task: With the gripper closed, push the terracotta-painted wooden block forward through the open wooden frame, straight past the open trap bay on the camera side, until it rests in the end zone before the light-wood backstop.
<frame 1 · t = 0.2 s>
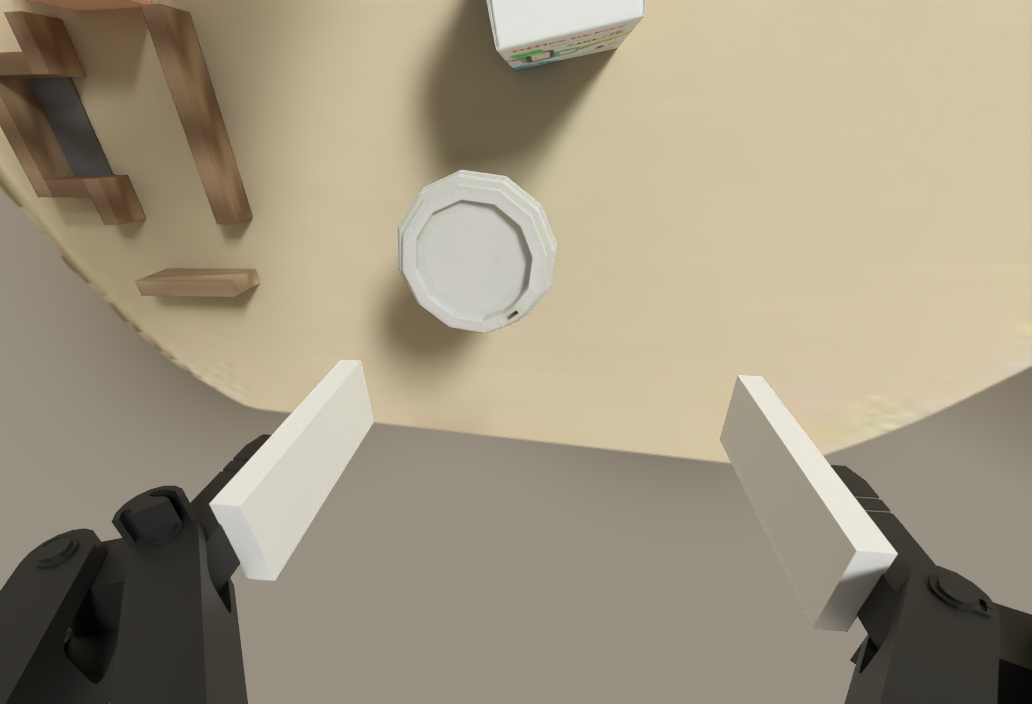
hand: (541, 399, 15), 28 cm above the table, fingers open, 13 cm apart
disposable coffee cup: (500, 216, 40), on the table
open wooden frame: (157, 127, 39), on the table
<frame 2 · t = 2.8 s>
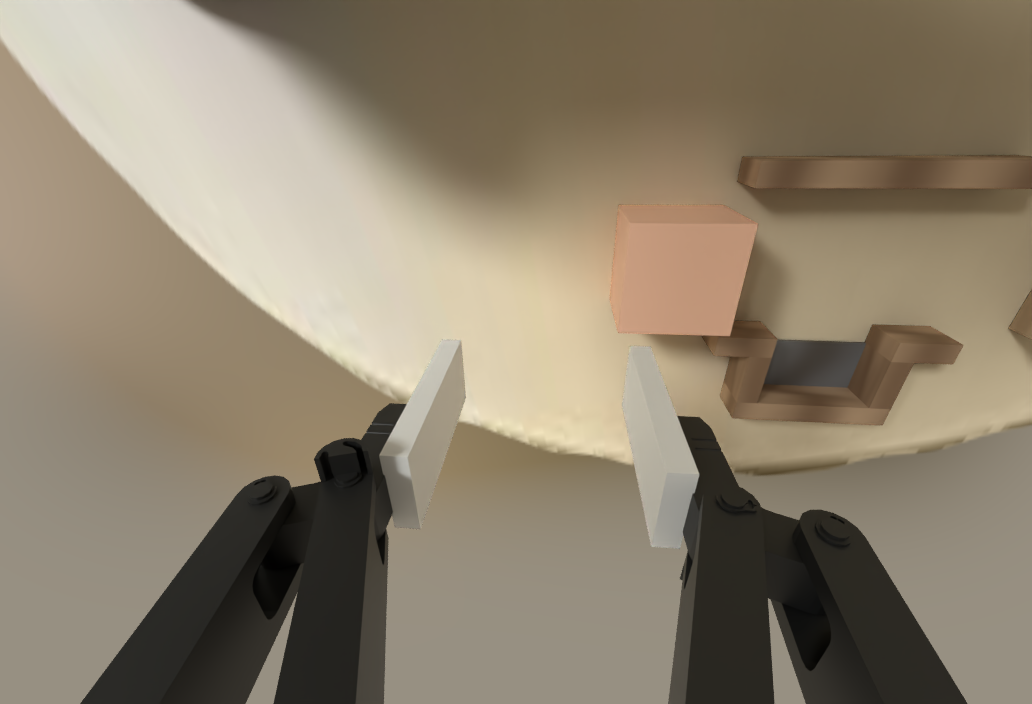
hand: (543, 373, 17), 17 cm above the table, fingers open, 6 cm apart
block: (662, 254, 31), on the table
open wooden frame: (839, 258, 30), on the table
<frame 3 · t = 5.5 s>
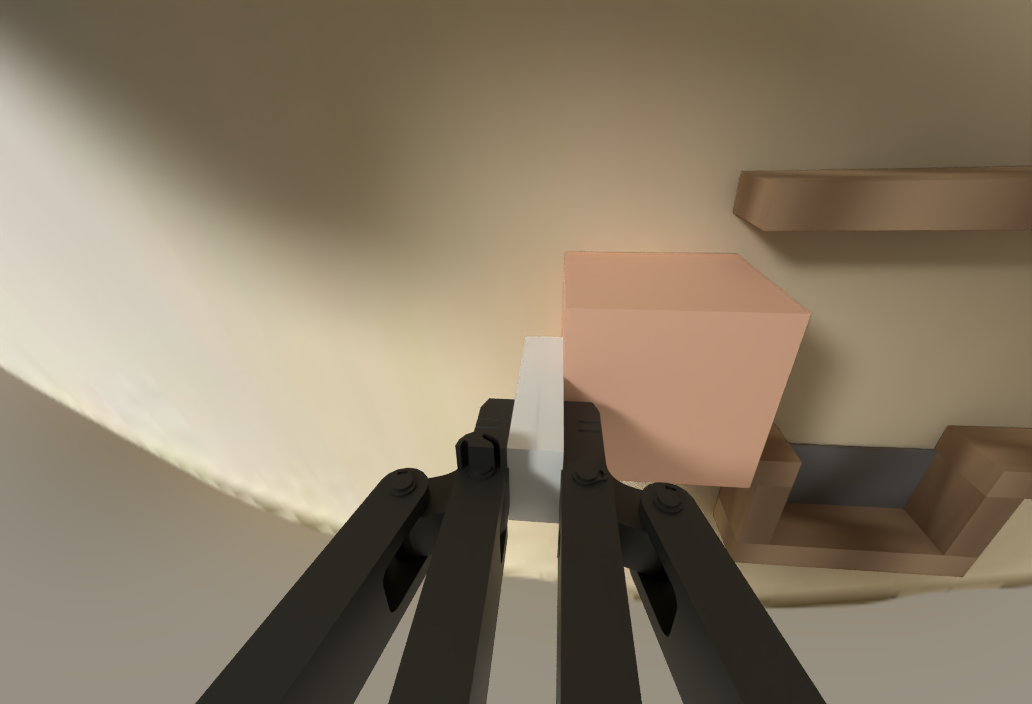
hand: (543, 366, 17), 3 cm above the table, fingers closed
block: (638, 328, 19), on the table, touching gripper
open wooden frame: (900, 330, 18), on the table
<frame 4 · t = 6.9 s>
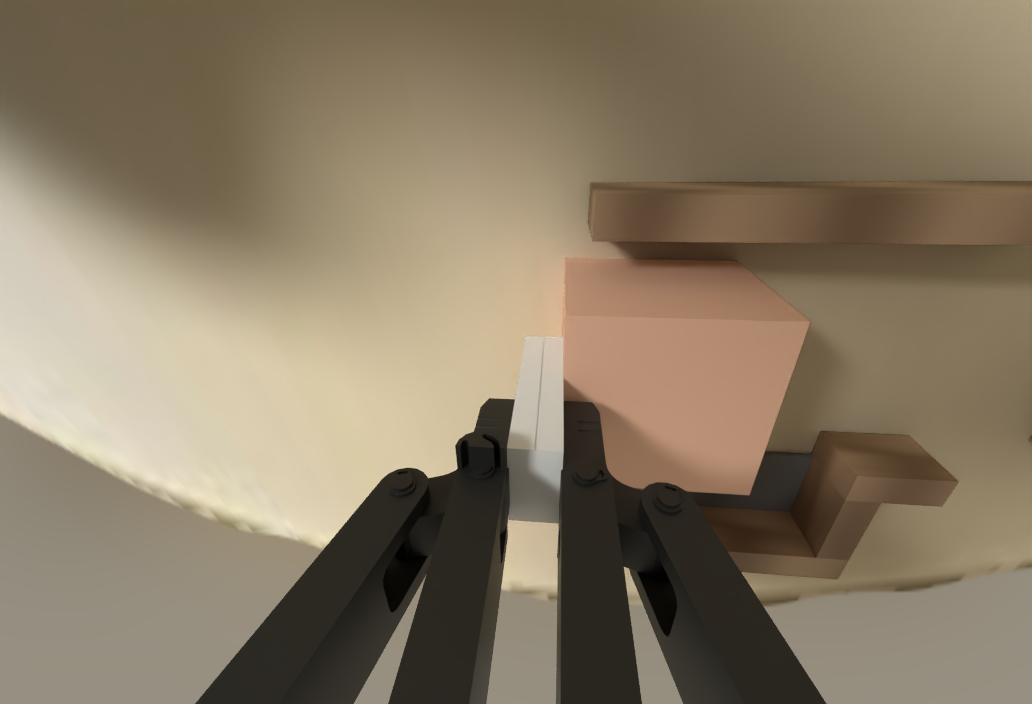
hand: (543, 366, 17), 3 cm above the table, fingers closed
block: (638, 334, 20), on the table, touching gripper
open wooden frame: (762, 338, 19), on the table
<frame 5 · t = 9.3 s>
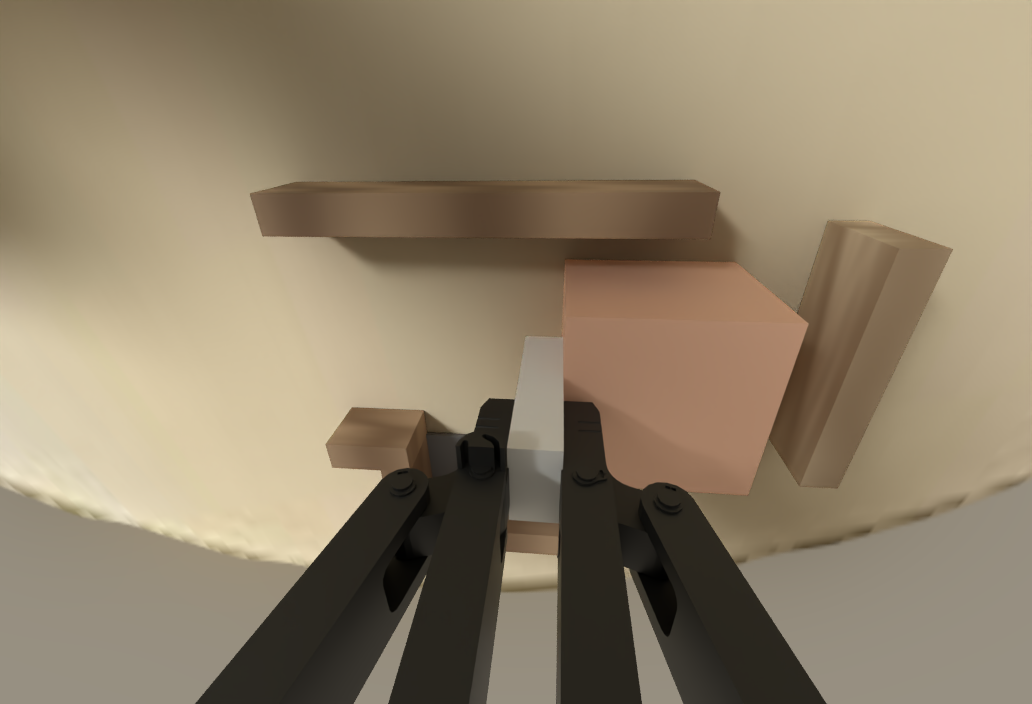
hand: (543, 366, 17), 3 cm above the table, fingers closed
block: (638, 335, 20), on the table
open wooden frame: (493, 328, 20), on the table
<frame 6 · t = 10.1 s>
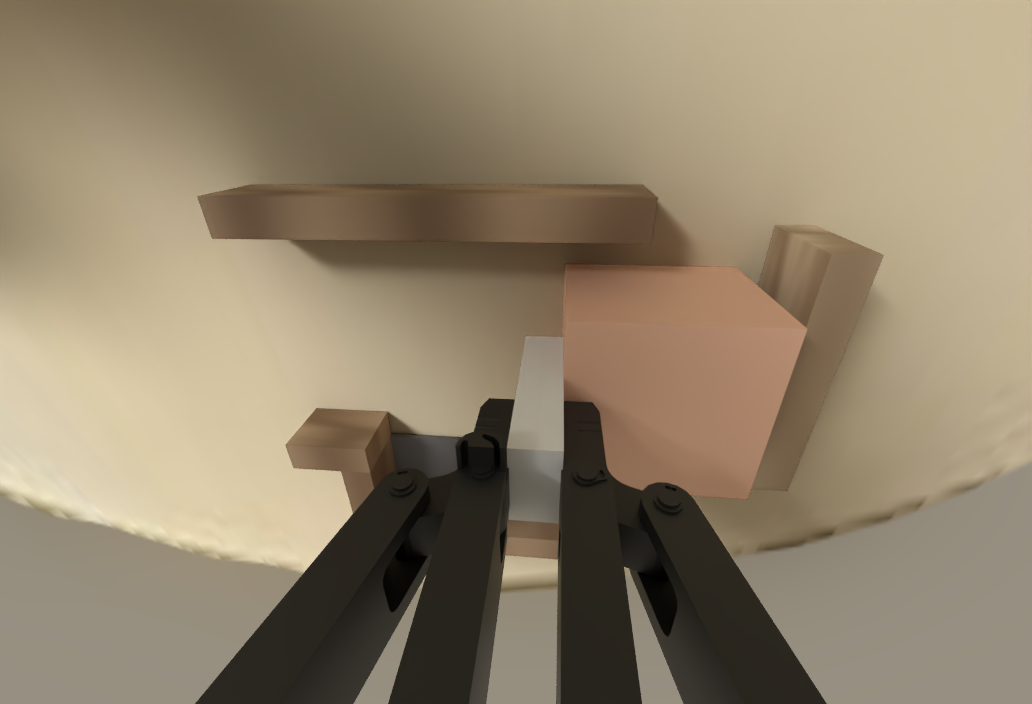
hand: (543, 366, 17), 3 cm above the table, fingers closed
block: (638, 338, 20), on the table, touching gripper
open wooden frame: (452, 330, 20), on the table
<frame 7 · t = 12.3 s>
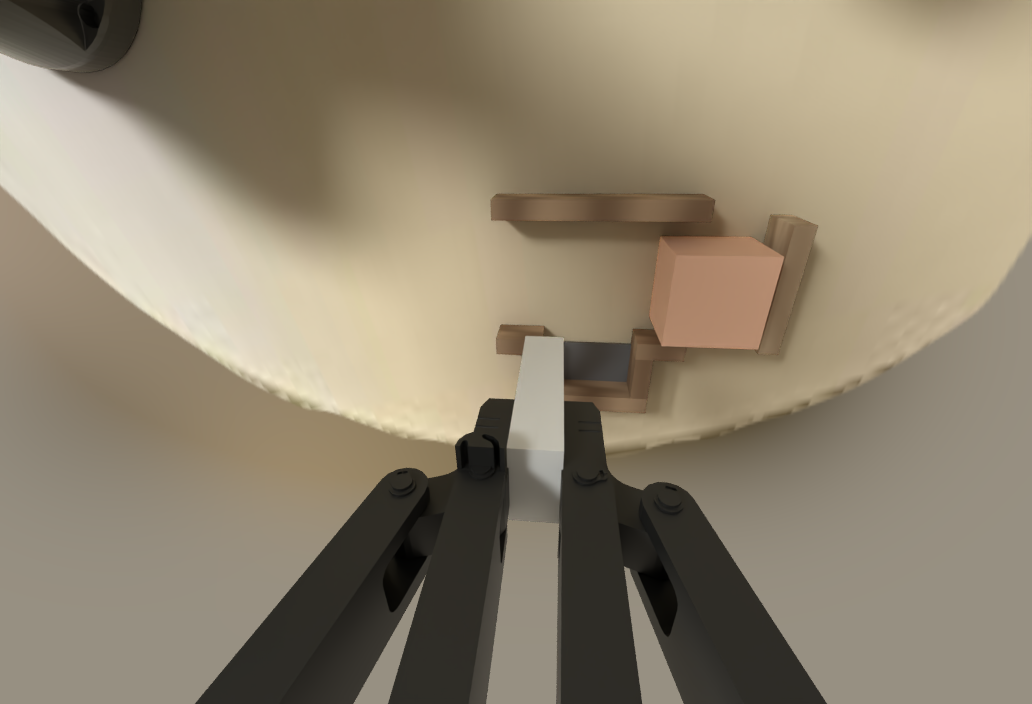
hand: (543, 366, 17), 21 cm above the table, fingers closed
block: (696, 278, 36), on the table
open wooden frame: (591, 274, 36), on the table
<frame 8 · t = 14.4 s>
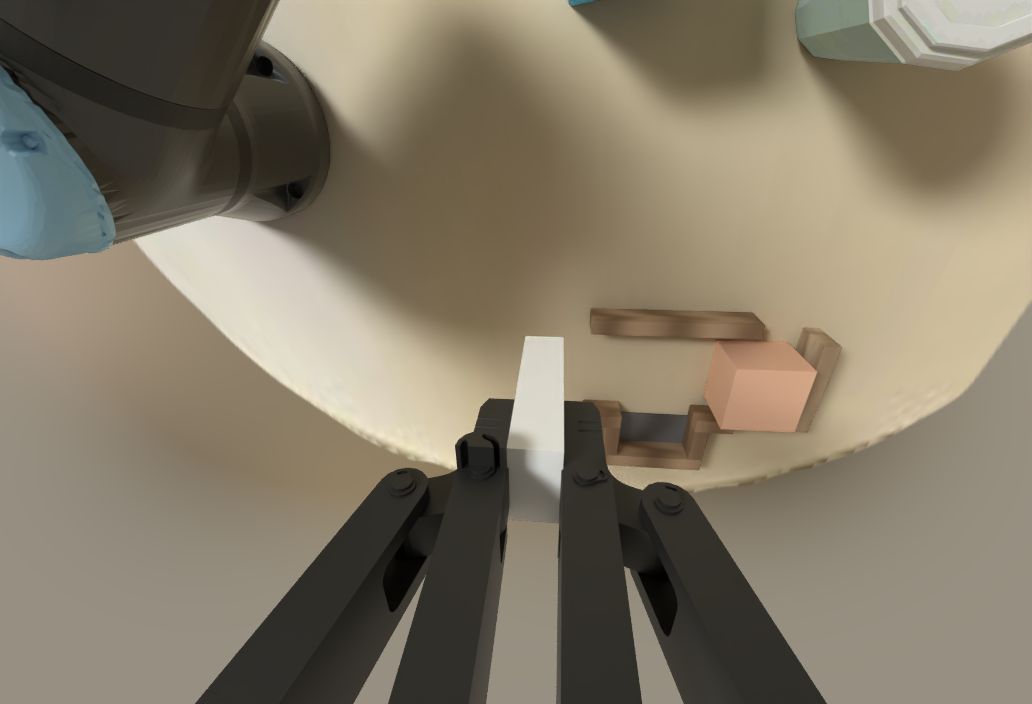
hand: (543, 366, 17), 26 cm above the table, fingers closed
block: (743, 369, 46), on the table
disposable coffee cup: (837, 1, 31), on the table
open wooden frame: (660, 365, 46), on the table
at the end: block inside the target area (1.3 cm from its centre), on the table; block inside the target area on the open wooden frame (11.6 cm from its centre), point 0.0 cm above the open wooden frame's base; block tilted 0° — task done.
